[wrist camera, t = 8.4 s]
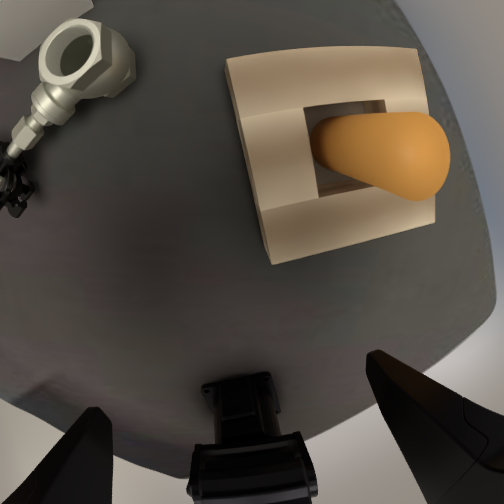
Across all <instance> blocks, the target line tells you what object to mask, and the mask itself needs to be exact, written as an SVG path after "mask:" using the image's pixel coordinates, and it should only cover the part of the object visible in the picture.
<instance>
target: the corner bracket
mask: <svg viewBox="0 0 504 504" xmlns="http://www.w3.org/2000/svg"><path fill="white" fill-rule="evenodd" d="M93 7H94V5H93V3H92V1H91V0H0V57H1V58H5V59H10V60H15V61H19V62H20V61H21V60H22V59H24V58H25V57H26V56H27V55H28V54H29V53H31V52H32V51H33V50H34V49H35V48H37V47H38V46H39V45H40V44H42V43H43V42H44V41H45V40H46V38H47V37H48V36H49V35H50V34H51V33H52V32H53V31H54V30H55V29H56V28H57V27H59V26H60V25H61V24H62V23H63V22H65V21H66V20H67V19H69V18H78V17H79V16H81V15H82V14H84V13H85V12H87V11H89V10H90V9H92V8H93Z"/></svg>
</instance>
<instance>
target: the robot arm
mask: <svg viewBox="0 0 504 504" xmlns="http://www.w3.org/2000/svg"><path fill="white" fill-rule="evenodd" d="M366 375H367V378H368V380H369V383H370V385H371V388H372V390H373V393H374V396H375V398H376V401H377V403H378V406H379V409H380V411H381V413H382V415H383V417H384V420H385V421H386V423H387V425H388V427H389V429H390V430H391V433H392V435H393V437H394V438H395V440H396V442H397V444H398V446H399V448H400V450H401V452H402V454H403V455H404V457H405V460H406V462H407V464H408V465H409V468H410V469H411V471H412V473H413V475H414V477H415V479H416V481H417V483H418V485H419V487H420V489H421V491H422V493H423V495H424V497H425V500H426V502H427V504H504V416H503V415H501V414H498V413H496V412H493V411H491V410H489V409H486V408H484V407H482V406H480V405H478V404H476V403H474V402H472V401H470V400H469V399H467V398H465V397H462V396H461V395H459V394H457V393H456V392H454V391H452V390H450V389H449V388H447V387H445V386H443V385H441V384H440V383H438V382H436V381H434V380H432V379H431V378H429V377H427V376H426V375H424V374H422V373H420V372H418V371H417V370H415V369H413V368H411V367H410V366H408V365H406V364H404V363H403V362H401V361H399V360H397V359H396V358H394V357H392V356H390V355H389V354H387V353H385V352H384V351H382V350H379V349H377V350H374V351H371V352H369V353H368V354H367V356H366ZM266 377H267V378H266ZM201 392H202V394H203V396H204V398H205V400H206V402H207V404H208V405H209V407H210V409H211V411H212V413H213V414H214V430H215V444H206V445H202V444H195V449H194V452H193V454H192V462H191V470H190V478H189V482H188V485H187V488H186V490H187V494H188V495H189V496H191V497H192V499H193V501H194V504H312V501H311V498H312V497H316V496H317V495H318V486H317V479H316V474H315V470H314V466H313V463H312V461H311V458H310V456H309V453H308V451H307V448H306V446H305V443H304V440H303V438H302V435H301V433H300V431H297V432H293V433H292V434H287V435H281V432H280V427H279V423H278V419H277V414H279V413H280V412H281V410H280V406H279V403H278V399H277V395H276V392H275V388H274V384H273V380H272V377H271V374H270V373H267V372H266V373H261V374H257V375H252V376H248V377H243V378H238V379H234V380H229V381H224V382H218V383H213V384H208V385H203V386H202V387H201ZM112 478H113V440H112V423H111V421H110V419H109V418H108V417H107V416H106V414H105V413H104V412H103V411H102V410H101V409H100V408H99V407H88V408H87V409H86V410H85V411H84V412H83V414H82V415H81V416H80V417H79V418H78V419H77V420H76V422H75V423H74V424H73V425H72V426H71V427H70V428H69V430H68V431H67V432H66V433H65V434H64V435H63V436H62V438H61V439H60V440H59V441H58V442H57V443H56V445H55V446H54V447H53V448H52V449H51V450H50V451H49V453H48V454H47V455H46V456H45V457H44V458H43V460H42V461H41V462H40V463H39V464H38V465H37V467H36V468H35V469H34V471H32V472H31V474H30V475H29V476H28V477H27V478H26V480H25V481H24V482H23V483H22V484H21V485H20V486H19V487H18V488H17V489H16V490H15V491H14V492H13V493H12V494H11V495H10V496H9V497H8V498H7V499H6V500H5V501H4V502H3V503H2V504H112V480H113V479H112Z"/></svg>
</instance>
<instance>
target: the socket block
mask: <svg viewBox="0 0 504 504" xmlns="http://www.w3.org/2000/svg"><path fill="white" fill-rule="evenodd" d="M225 74H226V78H227V82H228V87H229V91H230V95H231V100H232V104H233V108H234V113H235V117H236V121H237V126H238V130H239V134H240V139H241V143H242V148H243V152H244V157H245V161H246V166H247V170H248V175H249V179H250V184H251V188H252V193H253V197H254V202H255V206H256V211H257V215H258V220H259V225H260V229H261V234H262V239H263V243H264V247H265V249H266V252H267V254H268V257H269V259H270V262H271V264H272V265H274V264H278V263H282V262H286V261H290V260H294V259H298V258H302V257H306V256H310V255H314V254H318V253H322V252H326V251H330V250H333V249H337V248H341V247H345V246H349V245H353V244H356V243H360V242H364V241H368V240H372V239H375V238H379V237H383V236H387V235H390V234H394V233H398V232H402V231H405V230H409V229H413V228H416V227H420V226H424V225H427V224H431V223H434V222H435V194H434V195H433V196H432V197H430V198H428V199H426V200H423V201H410V200H407V199H405V198H402V197H400V196H397V195H395V194H393V193H390V192H388V191H385V190H383V189H380V188H378V187H375V186H373V185H370V184H368V183H365V182H362V181H360V180H357V179H354V178H352V177H349V176H346V175H343V174H341V173H338V172H335V171H332V170H329V169H327V168H324V167H323V166H321V165H320V164H319V163H318V162H317V161H316V160H315V159H314V157H313V155H312V153H311V147H310V135H311V132H312V130H313V128H314V127H315V125H316V124H317V123H318V122H320V121H321V120H323V119H325V118H328V117H335V116H345V115H357V114H371V113H389V112H421V113H424V114H427V115H428V116H429V112H428V105H427V98H426V92H425V87H424V81H423V76H422V71H421V66H420V62H419V57H418V53H417V49H410V48H397V47H378V46H334V47H314V48H301V49H290V50H281V51H273V52H265V53H259V54H252V55H246V56H240V57H235V58H230V59H226V64H225Z"/></svg>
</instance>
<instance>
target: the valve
mask: <svg viewBox="0 0 504 504" xmlns="http://www.w3.org/2000/svg"><path fill="white" fill-rule="evenodd" d="M39 75H40V81H42V82H41V83H40V85H39V86H38V87H37V88H36V89H35V90H34V92H33V93H32V95H31V99H32V102H33V105H32V106H31V112H32V114H31V115H24V116H23V117H22V118H21V119H20V121H19V122H18V123H17V125H16V126H15V127H14V129H13V130H12V139H13V141H12V142H11V143H9V142H3V141H0V187H1V186H3V187H2V188H1V190H0V211H1V209H2V208H3V206H6V207H7V208H8V211H9V213H10V215H11V216H13V217H14V218H19V217H20V216H21V214H22V213H23V212H24V210H25V209H26V208H27V202H26V201H27V200H28V199H29V198H30V197H31V195H32V194H33V193H34V191H35V186H34V184H33V183H32V182H31V181H28V183H27V184H26V185H25V184H23V183H22V179H21V176H22V174H23V173H24V172H25V170H26V169H27V165H26V163H25V162H24V158H23V156H22V153H21V152H22V150H29V149H32V148H33V147H34V146H35V144H36V143H37V142H38V141H39V139H40V138H41V137H42V136H43V135H44V131H43V126H50V125H52V124H56V125H63V124H64V123H65V122H66V121H67V120H68V119H69V118H70V117H71V116H72V115H73V114H74V113H75V105H76V104H77V103H78V102H79V101H80V100H81V99H92V98H97V97H101V96H105V97H109V98H115V97H116V96H117V95H118V94H119V93H120V92H122V91H123V90H124V89H125V88H126V87H128V86H129V85H130V84H131V83H132V82H134V81H135V80H136V62H135V52H134V51H133V50H132V49H131V48H129V45H128V43H127V41H126V40H125V39H124V37H123V36H122V35H121V34H119V33H118V32H116V31H114V30H112V29H109V28H107V27H106V26H104V25H103V24H102V23H100V22H96V21H91V20H86V19H79V18H69V19H67V20H66V21H65V22H63V23H62V24H61V25H60V26H59V27H57V28H56V29H55V30H54V31H53V32H52V33H51V34H50V35H49V36H48V37H47V38H46V40H45V41H44V42H43V43H42V45H41V46H40V52H39ZM12 187H13V189H12ZM11 190H12V192H11ZM18 196H19V198H20V199H22V200H23V201H22V202H20V201H19V200H18Z"/></svg>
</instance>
